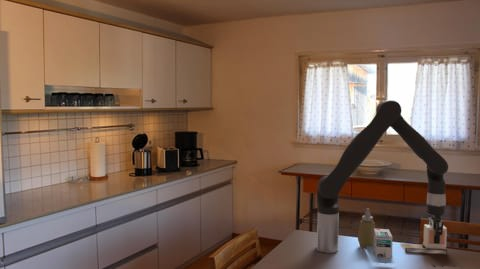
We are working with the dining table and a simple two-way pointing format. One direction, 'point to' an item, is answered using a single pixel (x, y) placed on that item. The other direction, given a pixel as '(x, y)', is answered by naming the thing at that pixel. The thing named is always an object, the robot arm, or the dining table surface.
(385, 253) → the light bulb box
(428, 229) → the carton
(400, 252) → the dining table surface
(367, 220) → the squeeze bottle
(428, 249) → the brown panel with ledge
